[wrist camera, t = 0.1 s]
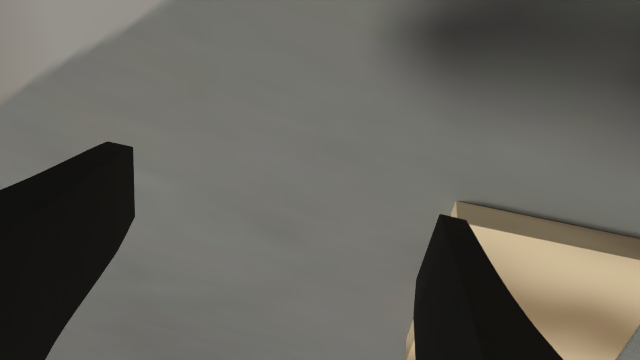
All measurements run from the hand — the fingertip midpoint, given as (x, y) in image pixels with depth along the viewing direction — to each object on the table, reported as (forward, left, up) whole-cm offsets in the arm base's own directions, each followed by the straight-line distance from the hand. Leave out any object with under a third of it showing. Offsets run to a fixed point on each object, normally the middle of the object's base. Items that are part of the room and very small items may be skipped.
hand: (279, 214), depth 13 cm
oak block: (-10, -11, -11) cm, 18 cm away
